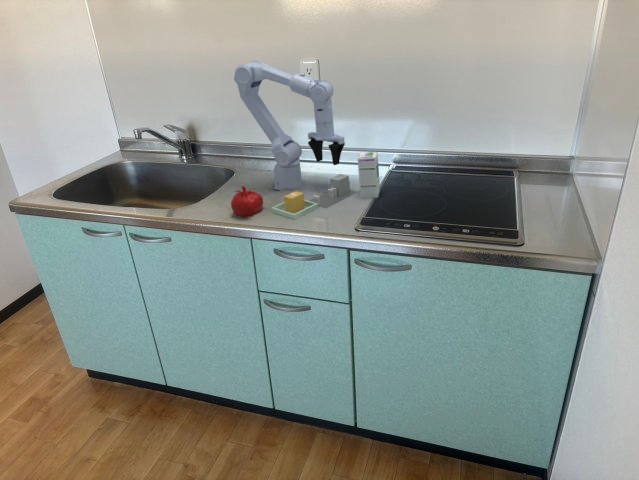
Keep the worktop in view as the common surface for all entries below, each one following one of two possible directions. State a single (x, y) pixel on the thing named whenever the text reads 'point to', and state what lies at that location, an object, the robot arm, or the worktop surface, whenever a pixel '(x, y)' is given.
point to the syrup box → (368, 175)
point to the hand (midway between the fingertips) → (327, 162)
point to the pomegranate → (246, 203)
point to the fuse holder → (331, 197)
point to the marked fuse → (294, 202)
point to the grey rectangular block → (340, 184)
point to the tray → (294, 216)
